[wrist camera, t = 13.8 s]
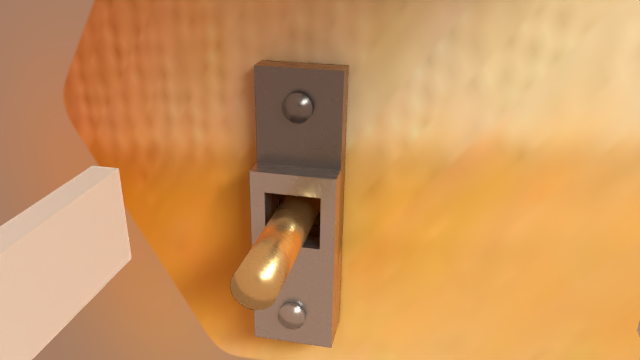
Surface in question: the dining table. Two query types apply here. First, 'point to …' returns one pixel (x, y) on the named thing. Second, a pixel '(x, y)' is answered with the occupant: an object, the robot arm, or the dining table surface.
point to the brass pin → (274, 253)
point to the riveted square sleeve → (302, 190)
